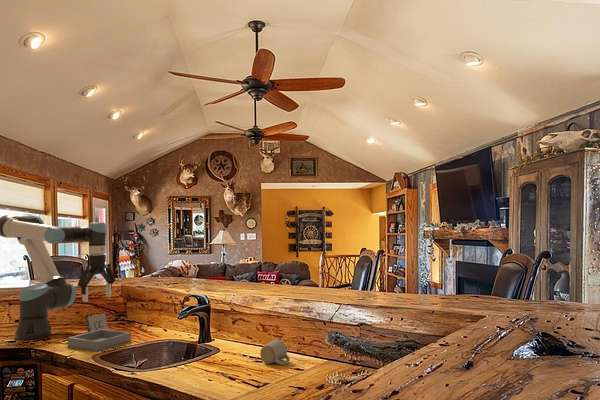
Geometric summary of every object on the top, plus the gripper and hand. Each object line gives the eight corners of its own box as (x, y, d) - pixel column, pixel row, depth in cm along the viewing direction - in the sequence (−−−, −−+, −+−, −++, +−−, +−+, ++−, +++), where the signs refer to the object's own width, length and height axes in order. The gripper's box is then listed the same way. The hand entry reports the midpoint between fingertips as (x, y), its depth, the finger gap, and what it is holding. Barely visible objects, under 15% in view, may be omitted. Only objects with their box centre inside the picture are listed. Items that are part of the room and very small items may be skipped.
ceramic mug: (258, 363, 177) (258, 342, 177) (271, 357, 184) (271, 337, 184) (281, 368, 171) (282, 346, 172) (294, 362, 178) (294, 341, 178)
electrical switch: (92, 336, 219) (91, 316, 220) (84, 336, 221) (83, 316, 222) (108, 332, 227) (107, 313, 228) (101, 332, 230) (100, 313, 230)
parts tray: (67, 347, 201) (67, 337, 201) (101, 337, 217) (101, 328, 217) (97, 352, 193) (98, 342, 193) (130, 341, 209) (130, 332, 210)
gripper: (80, 256, 213) (80, 303, 212) (123, 252, 235) (123, 295, 234) (69, 256, 216) (68, 302, 215) (112, 252, 239) (111, 294, 238)
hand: (97, 299), depth 225 cm, fingers open, 13 cm apart
